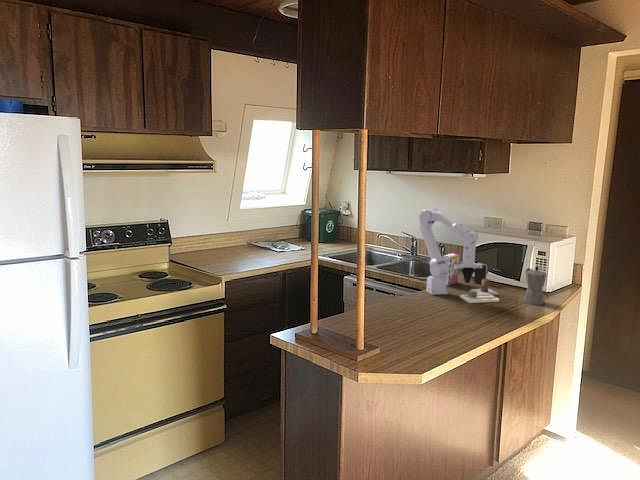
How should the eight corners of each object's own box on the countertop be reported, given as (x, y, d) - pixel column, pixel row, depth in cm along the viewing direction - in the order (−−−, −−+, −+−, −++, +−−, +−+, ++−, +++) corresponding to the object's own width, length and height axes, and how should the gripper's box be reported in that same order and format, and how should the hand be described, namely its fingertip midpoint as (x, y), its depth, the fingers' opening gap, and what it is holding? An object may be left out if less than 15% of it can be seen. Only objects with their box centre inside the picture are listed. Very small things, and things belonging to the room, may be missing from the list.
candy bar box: (449, 286, 284) (451, 257, 281) (440, 284, 287) (442, 255, 284) (457, 282, 293) (459, 254, 290) (449, 281, 296) (451, 252, 293)
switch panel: (469, 303, 254) (469, 299, 253) (459, 297, 263) (460, 293, 263) (499, 301, 257) (499, 298, 257) (488, 296, 267) (488, 292, 266)
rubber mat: (480, 295, 267) (480, 294, 267) (470, 290, 276) (471, 289, 276) (498, 295, 269) (498, 293, 269) (488, 289, 279) (488, 288, 278)
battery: (488, 284, 291) (489, 264, 289) (484, 285, 288) (486, 265, 286) (476, 281, 296) (478, 262, 294) (473, 282, 293) (474, 262, 291)
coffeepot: (550, 306, 252) (553, 269, 248) (531, 306, 250) (535, 269, 247) (533, 297, 267) (536, 262, 263) (515, 297, 265) (518, 262, 262)
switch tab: (470, 298, 257) (471, 292, 257) (468, 296, 260) (468, 290, 260) (476, 297, 258) (476, 291, 257) (473, 296, 261) (473, 290, 260)
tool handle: (482, 292, 270) (483, 281, 269) (479, 290, 274) (480, 279, 273) (489, 292, 271) (490, 281, 270) (486, 290, 275) (487, 279, 273)
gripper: (459, 257, 251) (457, 285, 254) (486, 256, 255) (484, 283, 257) (452, 254, 258) (450, 281, 260) (478, 254, 261) (476, 280, 264)
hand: (467, 282), depth 259 cm, fingers closed
